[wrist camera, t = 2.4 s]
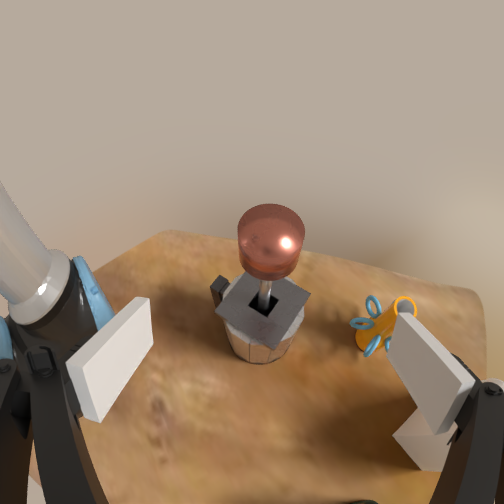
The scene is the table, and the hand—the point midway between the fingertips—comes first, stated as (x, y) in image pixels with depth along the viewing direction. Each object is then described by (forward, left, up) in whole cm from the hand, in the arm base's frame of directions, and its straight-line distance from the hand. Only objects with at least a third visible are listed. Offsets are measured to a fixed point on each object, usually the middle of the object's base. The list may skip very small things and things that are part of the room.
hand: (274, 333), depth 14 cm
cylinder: (+13, +19, -36) cm, 43 cm away
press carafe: (-7, +9, -36) cm, 38 cm away
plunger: (-5, +9, -27) cm, 29 cm away
